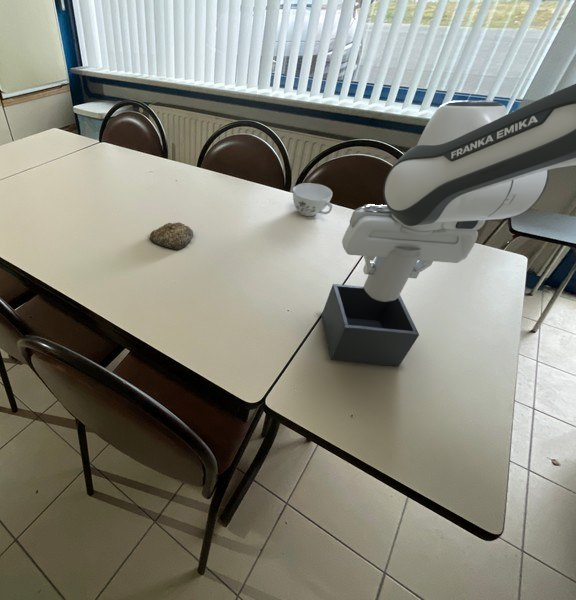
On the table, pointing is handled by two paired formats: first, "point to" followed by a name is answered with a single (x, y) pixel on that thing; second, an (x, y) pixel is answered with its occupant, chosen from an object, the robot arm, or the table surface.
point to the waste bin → (367, 327)
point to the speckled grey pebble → (172, 235)
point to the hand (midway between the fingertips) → (389, 274)
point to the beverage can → (391, 274)
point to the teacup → (312, 198)
